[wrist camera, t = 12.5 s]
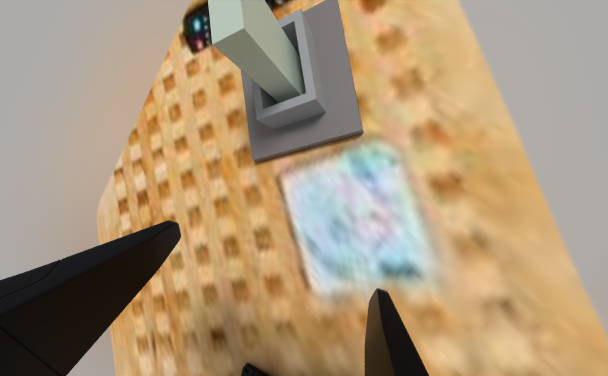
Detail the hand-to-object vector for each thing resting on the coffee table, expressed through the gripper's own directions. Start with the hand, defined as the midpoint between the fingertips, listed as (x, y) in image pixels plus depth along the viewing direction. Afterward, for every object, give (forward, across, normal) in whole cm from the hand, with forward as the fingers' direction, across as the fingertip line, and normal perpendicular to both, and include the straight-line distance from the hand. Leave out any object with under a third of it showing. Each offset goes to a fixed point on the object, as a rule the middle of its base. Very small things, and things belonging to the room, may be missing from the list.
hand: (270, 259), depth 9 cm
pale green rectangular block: (+18, +5, -5) cm, 19 cm away
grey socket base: (+19, +5, -4) cm, 20 cm away
